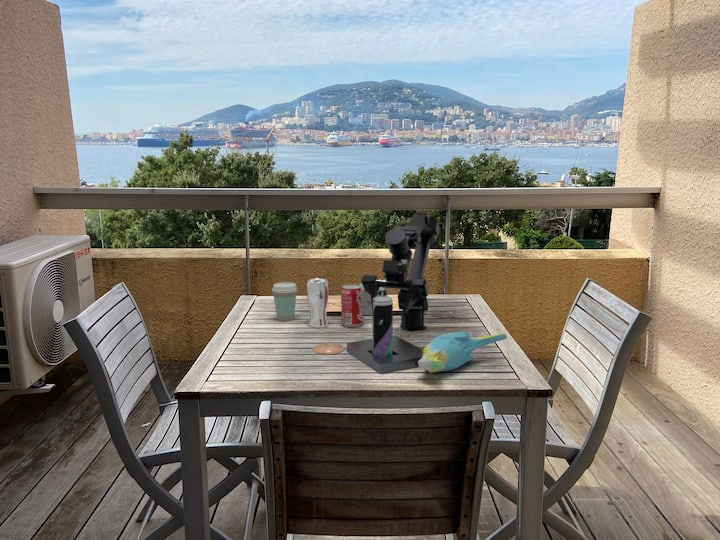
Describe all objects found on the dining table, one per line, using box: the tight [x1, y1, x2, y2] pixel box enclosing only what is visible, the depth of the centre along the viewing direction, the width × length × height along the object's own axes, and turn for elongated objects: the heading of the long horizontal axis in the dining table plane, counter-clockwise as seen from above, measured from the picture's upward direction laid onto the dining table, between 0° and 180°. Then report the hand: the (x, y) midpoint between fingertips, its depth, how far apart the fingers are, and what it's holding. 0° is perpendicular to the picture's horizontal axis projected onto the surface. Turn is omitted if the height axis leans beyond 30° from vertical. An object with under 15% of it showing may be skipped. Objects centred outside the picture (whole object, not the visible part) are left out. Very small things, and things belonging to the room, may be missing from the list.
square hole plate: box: [346, 334, 423, 375], centre depth 170 cm, size 16×20×2 cm
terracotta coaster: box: [312, 342, 345, 356], centre depth 177 cm, size 9×9×1 cm
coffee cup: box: [271, 281, 298, 322], centre depth 208 cm, size 9×8×12 cm
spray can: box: [371, 290, 394, 358], centre depth 165 cm, size 6×6×20 cm
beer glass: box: [306, 277, 329, 329], centre depth 200 cm, size 7×7×15 cm
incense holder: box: [359, 282, 388, 316], centre depth 214 cm, size 10×8×10 cm
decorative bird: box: [415, 331, 508, 374], centre depth 162 cm, size 14×30×9 cm, turn 137°
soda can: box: [340, 283, 364, 328], centre depth 200 cm, size 7×7×13 cm
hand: (388, 310), depth 170 cm, fingers open, 9 cm apart
